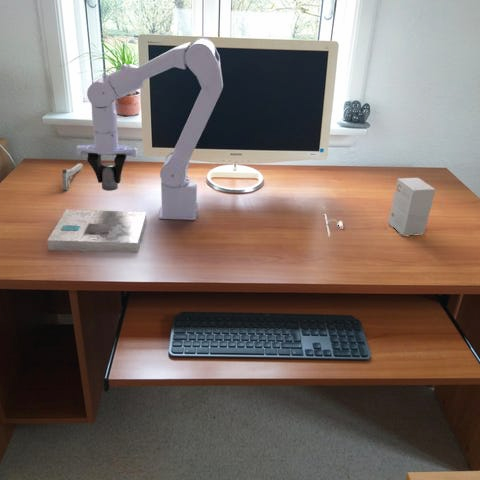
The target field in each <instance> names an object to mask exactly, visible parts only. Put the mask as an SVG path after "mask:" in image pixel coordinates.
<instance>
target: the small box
mask: <svg viewBox="0 0 480 480" xmlns="http://www.w3.org/2000/svg"><path fill="white" fill-rule="evenodd" d="M435 193H436V188H434V187H433V186H431V185H430V184H428V183H427V182H426V181H424V180H423V179H421V178H419V177H406V178H403V177H402V178H399V177H398V178H397V181H396V186H395V190H394V194H393V199H392V204H391V208H390V212H389V217H388V221H387V224H388V223H389V224H388V225H390V226H391V227H392V228H393V227H394V228H395V229H396V230H397V231H398V232H399V233H398V232H397V231H396V230H395V229H394V228H393V229H394V230H395V231H396V232H397V233H398V234H400V235H401V234H402V235H403V236H406V235H415V234H424V235H425V232H426V229H427V225H428V221H429V216H430V212H431V209H432V205H433V202H434V198H435V197H434V196H435ZM402 235H401V236H402ZM403 236H402V237H403ZM406 237H407V236H406Z"/></svg>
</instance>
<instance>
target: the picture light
mask: <svg viewBox="0 0 480 480" xmlns="http://www.w3.org/2000/svg"><path fill="white" fill-rule="evenodd" d="M324 215H325V217H324V222H325V227H327V228H326V232H327V236H328V237H329V238H330V237H331V232H330V228H329V223H330V222H335V221H336V218H333V219H332V218H330V219H328V217H327V214H324V213H323V216H324ZM338 225H339V226H338ZM336 226H337V227H338V228H339V227H340V228H339V229H340V230H344V225H343V221H342V220H339V221H338V222H336Z"/></svg>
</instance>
